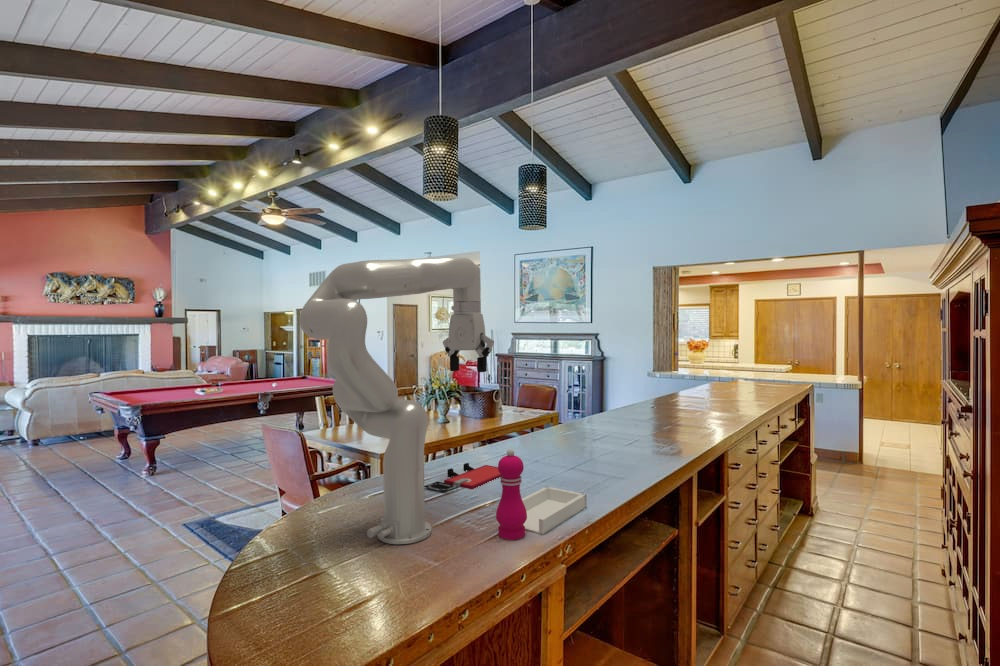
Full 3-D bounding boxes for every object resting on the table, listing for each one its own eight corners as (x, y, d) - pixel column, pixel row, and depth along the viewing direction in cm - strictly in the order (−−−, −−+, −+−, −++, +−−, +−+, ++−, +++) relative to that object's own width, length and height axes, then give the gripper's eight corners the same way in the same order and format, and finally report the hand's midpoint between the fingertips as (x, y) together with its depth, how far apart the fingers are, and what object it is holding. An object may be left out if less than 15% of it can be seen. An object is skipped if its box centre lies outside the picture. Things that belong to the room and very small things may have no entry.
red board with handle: (418, 488, 152) (456, 497, 144) (418, 479, 152) (456, 488, 144) (477, 467, 177) (512, 474, 168) (477, 459, 177) (512, 465, 168)
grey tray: (543, 534, 115) (543, 519, 115) (500, 523, 123) (500, 509, 123) (586, 507, 133) (586, 494, 133) (546, 498, 140) (546, 486, 140)
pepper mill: (511, 526, 121) (510, 444, 121) (533, 534, 116) (532, 448, 116) (489, 534, 116) (488, 449, 116) (512, 543, 111) (510, 454, 111)
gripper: (434, 310, 138) (435, 371, 138) (483, 307, 128) (484, 373, 128) (452, 310, 144) (453, 369, 144) (500, 308, 134) (501, 371, 134)
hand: (468, 371), depth 136 cm, fingers open, 9 cm apart
